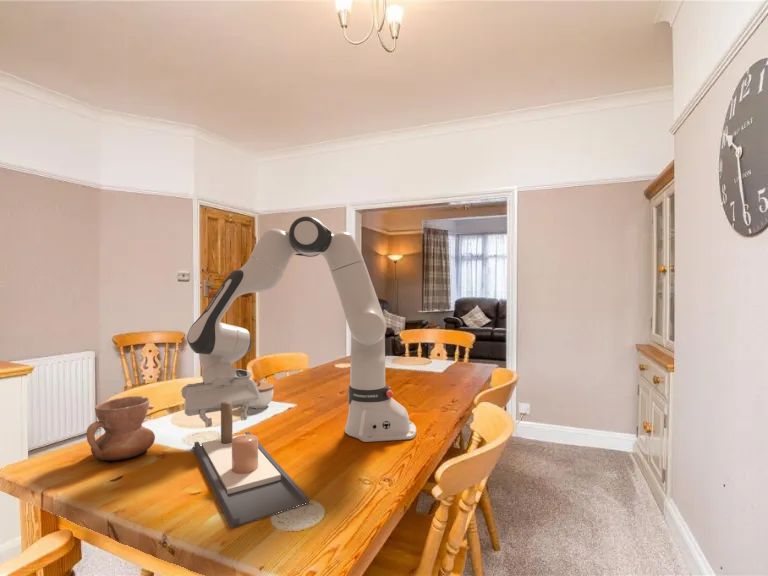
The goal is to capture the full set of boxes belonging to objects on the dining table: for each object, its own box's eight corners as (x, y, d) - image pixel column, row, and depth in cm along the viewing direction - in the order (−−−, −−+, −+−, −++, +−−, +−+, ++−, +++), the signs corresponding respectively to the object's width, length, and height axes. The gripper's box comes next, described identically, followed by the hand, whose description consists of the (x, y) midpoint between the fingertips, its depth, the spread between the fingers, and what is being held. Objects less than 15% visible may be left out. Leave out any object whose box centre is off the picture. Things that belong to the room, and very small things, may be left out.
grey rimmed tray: (192, 448, 113) (192, 442, 113) (250, 436, 122) (250, 431, 122) (231, 528, 77) (231, 520, 77) (309, 503, 86) (309, 495, 86)
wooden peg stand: (201, 447, 113) (201, 403, 113) (245, 438, 119) (245, 396, 119) (227, 494, 88) (227, 438, 88) (280, 479, 95) (281, 427, 94)
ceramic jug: (135, 438, 120) (134, 391, 120) (171, 445, 115) (169, 396, 114) (69, 464, 104) (67, 409, 103) (106, 475, 98) (104, 416, 98)
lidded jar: (237, 408, 149) (237, 383, 148) (256, 401, 158) (256, 377, 158) (261, 412, 145) (261, 386, 144) (279, 404, 154) (279, 379, 154)
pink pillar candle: (261, 462, 101) (261, 434, 101) (253, 473, 95) (253, 444, 95) (237, 462, 101) (237, 434, 101) (228, 473, 95) (227, 444, 95)
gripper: (181, 379, 113) (187, 424, 105) (255, 370, 125) (265, 410, 117) (179, 391, 117) (184, 435, 109) (251, 381, 128) (260, 421, 121)
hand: (227, 422), depth 113 cm, fingers open, 8 cm apart
